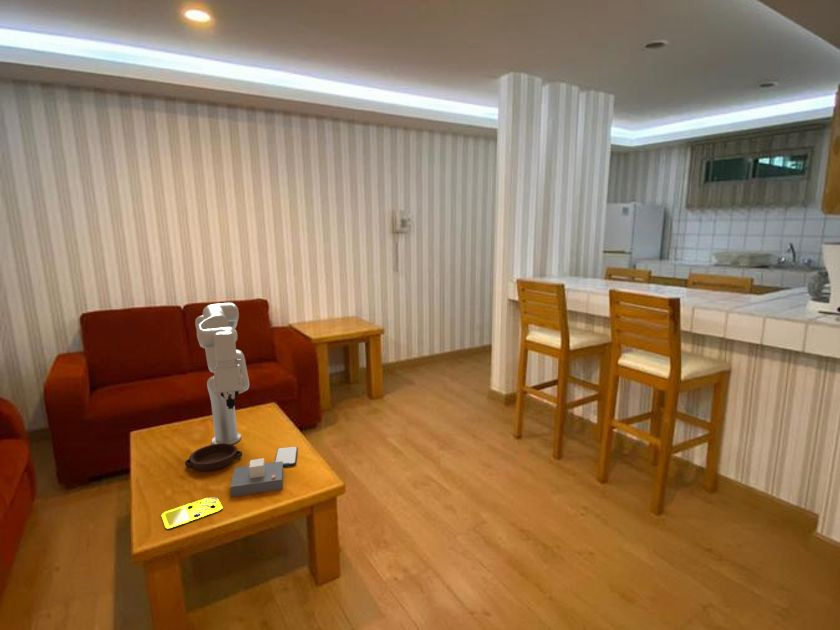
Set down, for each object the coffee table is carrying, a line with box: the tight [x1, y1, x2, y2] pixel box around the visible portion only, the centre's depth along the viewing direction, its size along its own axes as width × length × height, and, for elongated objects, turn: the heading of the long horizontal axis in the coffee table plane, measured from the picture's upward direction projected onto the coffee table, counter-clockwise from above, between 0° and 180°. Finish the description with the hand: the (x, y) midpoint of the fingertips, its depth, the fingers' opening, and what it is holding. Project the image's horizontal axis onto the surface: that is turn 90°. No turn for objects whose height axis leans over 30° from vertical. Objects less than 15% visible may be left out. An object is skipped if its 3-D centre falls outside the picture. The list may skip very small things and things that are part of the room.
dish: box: [184, 443, 243, 472], centre depth 192 cm, size 18×22×5 cm
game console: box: [161, 496, 224, 531], centre depth 159 cm, size 18×11×2 cm, turn 128°
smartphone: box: [274, 446, 299, 468], centre depth 196 cm, size 9×2×16 cm
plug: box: [248, 457, 266, 478], centre depth 176 cm, size 6×5×8 cm
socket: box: [230, 461, 284, 498], centre depth 177 cm, size 14×18×5 cm
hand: (231, 407), depth 181 cm, fingers closed
